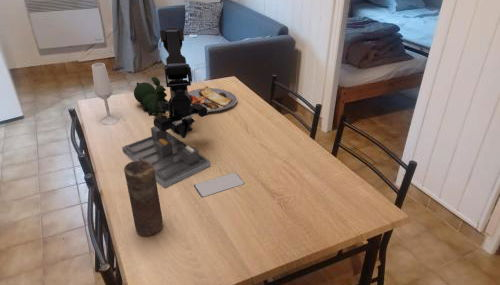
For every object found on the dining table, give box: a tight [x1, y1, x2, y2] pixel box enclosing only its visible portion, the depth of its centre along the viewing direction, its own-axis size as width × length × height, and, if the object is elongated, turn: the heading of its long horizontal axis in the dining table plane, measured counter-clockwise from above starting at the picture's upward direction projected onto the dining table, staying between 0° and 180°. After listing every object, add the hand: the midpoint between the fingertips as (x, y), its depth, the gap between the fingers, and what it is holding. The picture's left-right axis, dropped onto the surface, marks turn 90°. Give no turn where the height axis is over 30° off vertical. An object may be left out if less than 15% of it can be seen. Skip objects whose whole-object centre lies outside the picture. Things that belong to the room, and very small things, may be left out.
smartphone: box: [193, 172, 245, 198], centre depth 117 cm, size 7×1×15 cm
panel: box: [121, 130, 211, 189], centre depth 128 cm, size 18×28×3 cm, turn 43°
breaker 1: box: [150, 126, 168, 142], centre depth 135 cm, size 4×4×5 cm
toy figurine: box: [133, 76, 169, 118], centre depth 157 cm, size 9×19×25 cm
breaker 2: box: [182, 145, 200, 166], centre depth 123 cm, size 4×4×5 cm
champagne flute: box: [91, 62, 119, 125], centre depth 146 cm, size 7×7×24 cm
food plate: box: [188, 86, 238, 113], centre depth 168 cm, size 25×23×4 cm
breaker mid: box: [155, 139, 173, 158], centre depth 126 cm, size 4×4×5 cm
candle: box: [123, 161, 164, 237], centre depth 95 cm, size 8×7×20 cm
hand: (183, 137), depth 131 cm, fingers closed
